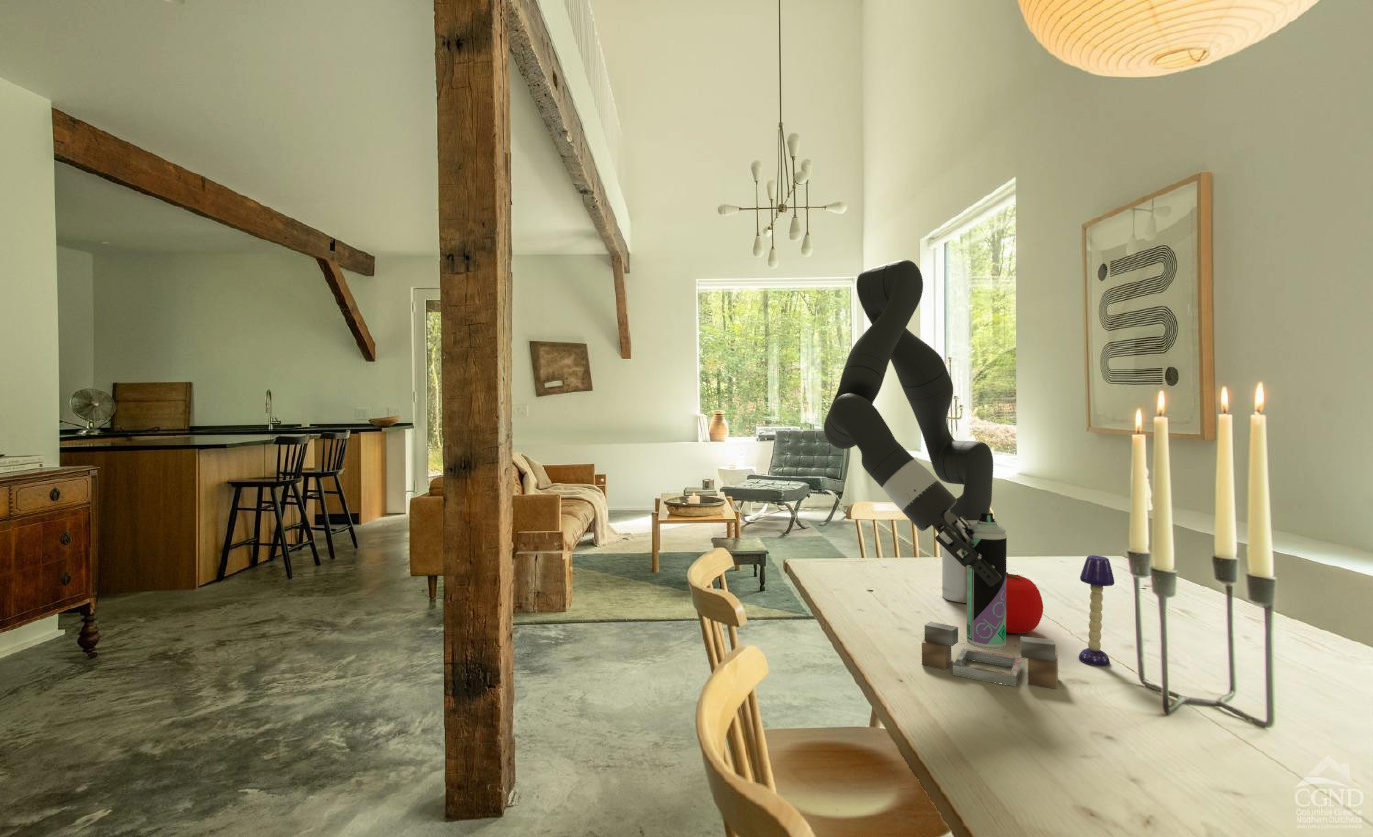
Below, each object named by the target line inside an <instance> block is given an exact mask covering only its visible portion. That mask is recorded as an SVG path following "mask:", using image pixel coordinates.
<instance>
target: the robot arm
mask: <svg viewBox="0 0 1373 837" xmlns="http://www.w3.org/2000/svg"><path fill="white" fill-rule="evenodd" d="M923 280H924V279H923V275H922V272H921V270H920V268H919V267H918V266H917V264H916V263H915V262H913V261H912V260H910V259H900V260H896V261H892V262H889V263H885V264H882V265H881V264H880V265H879V266H873V267H871V268H868V269H865V270H862V271H861V272H860V274H859V275H857V280H856V292H857V296H858V300H859V302H860V305H861V307H862V309H863V311H864V313H865V315H866V316H867V318H868V320H869V322H870V323H871V325H870V326H869V327H868V328H867V329H866V330H865V332H864V333H863V334H862V335H861V336H860V337H859V338H858V340H857V341H856V342H855V344H854V345H853V347H852V349H851V350H850V352H849V354H848V355H847V356H848V357H847V359H846V362H845V365H844V369H843V371H842V374H841V376H840V382H839V386H838V389H837V391H836V394H835V396H834V399H833V401H832V403H831V406H830V408H829V410H828V413H827V415H826V417H825V421H824V424H823V433H824V435H825V438H826V440H827V442H828V443H829V444H831V445H832V446H833V447H835V448H837V449H840V450H848V449H851V448H854V447H857V449H858V450H859V451H860V453H861V465H862V467H863V469H864V470H865V471H866V472H867V473H868V475H869V476H870V477H871V478H872V479H873V480H874V482H876V483H877V484H878V485H879V487H880V488H882V490H883V491H884V492H885V494H886V495H887V497H888V498H889V499H890V500H891V501H892V502H893V504H894V505H895V506H896V507H898V509H899V510H900V511H901V512H902V514H904V516H906V518H908V520H910V522H912V523H913V525H914V526H915V527H916V528H917V529H918V530H919V531H921V532H925V531H926V530H928V529H929V528H930V527H933V528H934V530H935V531H936V532H937V533H938V534H937V535H936V536H935V537H934V538H935V541H936V542H937V543H939V544H940V545H941V547H942V548H941V551H942V552H941V554H942V555H941V567H942V568H941V571H942V572H941V575H942V576H941V581H942V583H941V584H942V585H941V586H942V587H941V590H942V594H941V595H942V597H943V598H944V599H945V600H948V601H951V602H956V603H960V604H967V566H968V567H969V568H972V569H973V570H974V571H975V572H976V573H977V574H978V575H979V576H980V577H981V578H982V579H983V580H984V581H985V582H986V583H987V584H988V585H989V586H994V585H995V584H996V583H998V582H999V581H1000V580H1001V575H1000V574H999V573H998V572H997V571H996V570H995V569H994V568H993V567H992V566H991V565H990V564H989V563H988V562H987V561H986V560H985V559H984V558H983V556H982V554H981V553H980V552H979V551H978V550H977V549H976V548H975V542H974V541H973V539H972V538H971V537H970V535H969V534H968V531H969V530H968V527H970V526H972V525H974V524H976V523H977V520H979V518H981V513H990V509H991V506H992V500H993V479H994V459H993V458H994V457H993V453H992V449H991V448H990V447H989V445H988V444H987V443H985V442H982V441H974V440H973V441H972V440H971V441H969V440H956V439H954V438H953V435H952V434H951V432H950V430H949V426H948V422H947V418H948V414H949V410H950V407H951V404H952V400H953V396H954V385H953V384H954V383H953V381H952V379H951V376H950V374H949V371H948V369H947V368H948V367H947V366H946V363H945V361H944V360H943V358H942V357H941V355H940V354H939V353H938V352H937V351H936V350H935V349H934V348H932V347H931V346H930V345H929V344H927V343H926V342H925V341H924V340H922V339H920V338H919V337H918V336H916V335H915V334H914V333H912V332H911V331H910V329H908V328H907V327H908V324H909V322H910V320H911V319H912V317H913V315H914V313H915V312H916V310H917V308H918V306H919V304H920V303H921V302H920V301H921V299H922V296H923V292H924V282H923ZM890 361H891V364H892V366H893V368H894V371H895V373H896V376H897V379H898V382H899V384H900V386H901V388H902V390H903V393H904V395H905V397H906V399H907V401H908V403H909V404H910V407H911V409H912V412H913V414H914V417H915V419H916V421H917V424H918V426H919V429H920V431H921V434H922V437H923V441H924V444H925V447H926V449H927V453H928V458H929V460H930V463H931V466H932V468H933V470H934V473H935V475H936V476H935V475H934V474H932V473H931V471H930V470H929V469H928V468H926V467H925V466H924V465H923V464H921V463H920V462H919V461H917V460H916V459H915V458H914V457H913V456H912V455H911V454H910V453H909V452H908V450H906V448H904V447H903V446H902V445H901V444H900V443H899V442H898V441H897V439H896V438H895V436H894V434H893V432H892V431H891V429H890V427H889V426H888V424H887V422H886V421H885V420H884V418H883V416H882V415H881V413H880V412H879V411H878V409H877V408H876V406H874V405H873V404H874V402H875V400H876V398H877V397H878V394H879V392H880V390H881V388H882V385H883V382H884V378H885V376H886V372H887V369H888V366H889V363H890ZM936 477H938V479H939V480H938V479H937V478H936ZM940 481H941V482H944V483H948V484H952V485H963V490H962V494H961V495H960V496H959V497H957V498H956V497H955V495H953V494H952V493H951V491H949V489H947V488H946V487H945V485H943V484H942V483H941V482H940ZM967 552H968V554H967ZM981 559H982V560H981ZM1006 571H1007V568H1006Z"/></svg>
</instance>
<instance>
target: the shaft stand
mask: <svg viewBox="0 0 1373 837" xmlns="http://www.w3.org/2000/svg"><path fill="white" fill-rule="evenodd" d="M1019 637H1020V639H1019V641H1020V642H1019V643H1020V645H1019V646H1020V647H1019V648H1020V651H1019V652H1020V655H1021V658H1022V659H1023V658H1024V659H1027V685H1031V686H1038V687H1043V688H1050V689H1055V690H1057V687H1058V686H1057V684H1058V681H1059V680H1058V678H1059V660H1058V659H1059V658H1058V654H1056V650H1057V648H1056V643H1055V641H1054V639H1051V638H1039V637H1032V636H1031V637H1030V636H1022V635H1021V636H1019ZM958 643H959V626H955V625H949V624H945V623H940V622H934V621H931V620H930V621H929V622H927V623H926V624H924V639H923V640H922V642H921V665H922V664H923V665H922V666H926V665H929V667H932V666H933V667H934V668H937V669H943V670H947V668H948V667H949V665H950V663H951V662H952V647H954V646H955V645H956V644H958ZM950 661H951V662H950ZM948 664H949V665H948Z"/></svg>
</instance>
